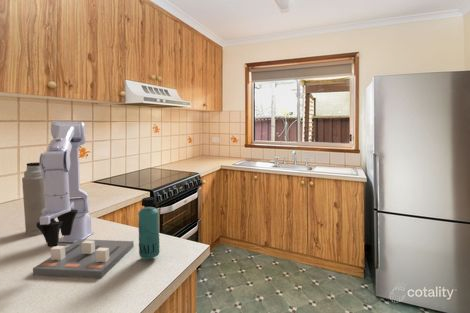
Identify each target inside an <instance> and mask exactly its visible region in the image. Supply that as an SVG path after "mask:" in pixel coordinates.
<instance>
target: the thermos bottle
mask: <svg viewBox="0 0 470 313" xmlns="http://www.w3.org/2000/svg"><path fill="white" fill-rule="evenodd" d="M21 179H22V180H21V181H22V197H23V198H22V199H23V209H24V210H23V211H24V222H25V223H24V225H25V234H26V236H39V235H43V234H42V232H41V231H40V230H39V229H38V228H37V225H36V224H37V223H38V222H40V217H41V216H42V215H43V213H41V210H43V209H46V206H45V190H44V179H42V173H41V169H40V163H39V162H37V161H36V162H28V163H26V170H25V171H24V172H23V177H22V178H21Z"/></svg>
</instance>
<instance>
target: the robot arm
mask: <svg viewBox="0 0 470 313" xmlns="http://www.w3.org/2000/svg"><path fill="white" fill-rule="evenodd" d="M50 124H51V125H50V134H51V137H52V139H51V141H50V142H49V144H48V146H47V149H46V150H45V151H44V152H43V153H40V155H39V160H38V161H39V162H38V163H40V169H41V173H42V179H44V190H45V206H46V209H43V210H41V213H43V215H42V216H41V217H40V222H38V223H37V224H36V225H37V228H38V229H39V230H40V231H41V232H42V234H41V235H42V236H43V237H44V239H45V242H46V244H47V247H48V248H53V247H56V246H59V245H58V244H59V243H71V244H72V243H74V242H76V241H77V240H79V239H86V238H87V239H88V237H90V236H92V235H93V234H94V233H95V232H94V231H92V217H91V215H90V214H89V212H90V198H89V193H88V191H85V190H83V189H82V188H81V182H80V181H81V180H80V148H81V146H83V145H84V144H86V124H85V123H84V122H83V121H57V120H53V121H52V122H51V123H50ZM56 219H57V220H56ZM60 234H61V236H62V238H61V239H60V238H59V237H60Z"/></svg>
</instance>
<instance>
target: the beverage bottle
mask: <svg viewBox="0 0 470 313" xmlns="http://www.w3.org/2000/svg"><path fill="white" fill-rule="evenodd" d="M155 205H156V199H155V197H153V196H147V197H143V198H142V199H141V206H142V207H143V208H141V209H140V210H139V211H138V213H137V215H138V220H137V222H138V224H137V226H138V254H139V257H140V258H141V259H144V260H145V259H146V260H148V259H154V258H157V256H160V255H159V254H160V219H159V217H160V211H159V210H158V209H157V208H156V207H153V206H155Z"/></svg>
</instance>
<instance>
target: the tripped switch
mask: <svg viewBox="0 0 470 313" xmlns="http://www.w3.org/2000/svg"><path fill="white" fill-rule="evenodd" d="M90 240H91V239H86V240H85V241H84V242H82V254H92V253H93V252H95V241H90Z"/></svg>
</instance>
